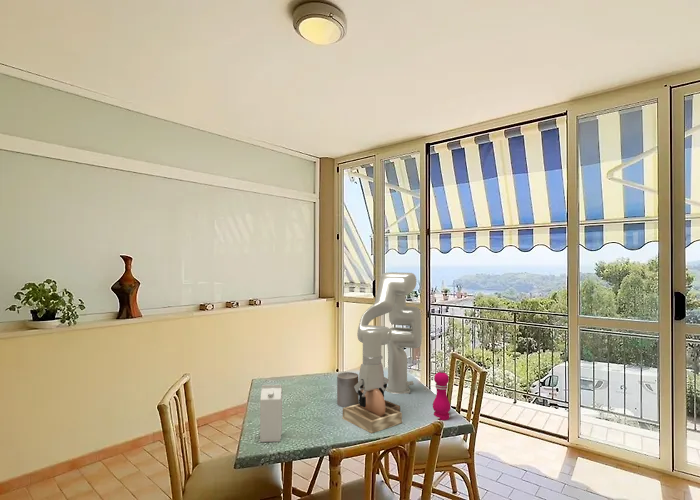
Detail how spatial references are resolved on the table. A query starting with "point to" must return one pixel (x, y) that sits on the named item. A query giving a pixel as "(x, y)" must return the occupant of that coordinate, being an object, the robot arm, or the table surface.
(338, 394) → the pillar candle
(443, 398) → the pepper mill
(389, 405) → the narrow wooden tray
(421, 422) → the table surface
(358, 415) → the rack
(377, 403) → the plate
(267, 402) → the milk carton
